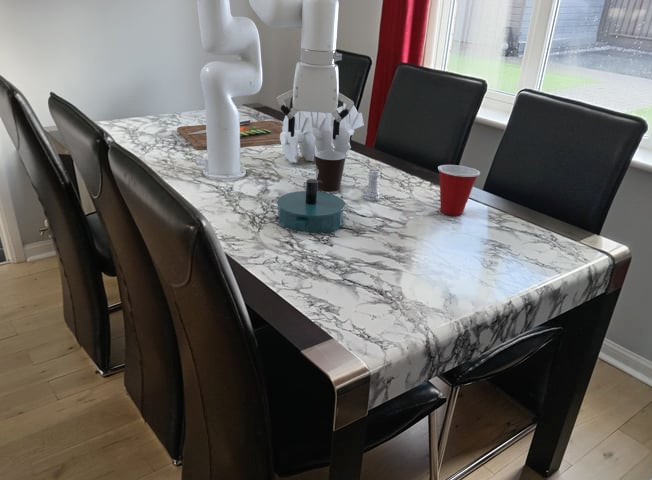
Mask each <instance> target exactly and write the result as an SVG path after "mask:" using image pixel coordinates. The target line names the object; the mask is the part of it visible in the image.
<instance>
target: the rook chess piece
mask: <svg viewBox="0 0 652 480" xmlns="http://www.w3.org/2000/svg"><path fill="white" fill-rule="evenodd" d="M367 175H368V176H369V177H368V184H367V187H366V189H365V191H364V193H363V194H364V195H363V198H364V199H365V200H367V201H368V202H375V201H376V202H377V201H379V200H380V199H381V198H380V195H381V194H380V191H379V188H378V187H379V186H378V182H379V177H380V176H381V174H380V170H379V169H375V168H373V169H372V168H371V169H369V172H368V173H367Z"/></svg>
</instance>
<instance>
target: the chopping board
mask: <svg viewBox="0 0 652 480" xmlns="http://www.w3.org/2000/svg"><path fill="white" fill-rule="evenodd" d="M282 126H283V122H280V121H277V120H259V121H257V120H256V121H251V120H249V119H248V120H243V121H240V148H243V147H254V146H256V147H257V146H269V145H278V144H280V145H281V141H280V134H281V133H282ZM171 134H172V135H173V136H174V137H175V138H176V139H177V140H178V141H179V142H180V143H181V144H182V145H183V146H184V147H185V146H187V145H190V146H191V147H192V148H193V149H194V150H201V151H207V134H206V124H199V125H195V124H194V125H182V126H178V127H177V128H176V132H174V131H172V132H171Z"/></svg>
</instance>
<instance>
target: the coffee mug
mask: <svg viewBox="0 0 652 480" xmlns="http://www.w3.org/2000/svg"><path fill="white" fill-rule="evenodd" d="M316 152H317V153H315V155H314V163H315V165H314V166H315V177H316V179H315V180H317V181H318V190H319V191H320V192H325V193H334V192H338V191H340V189H341V184H342V178H343V174H344V169H345V164H346V159H347V157H346V155H345V154H343V153H341V152H336V151H334V150H333V151H320V152H318V151H316Z"/></svg>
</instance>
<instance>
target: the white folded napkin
mask: <svg viewBox="0 0 652 480" xmlns="http://www.w3.org/2000/svg"><path fill="white" fill-rule="evenodd" d="M345 107H346V104H345V103H343V102H342V105H341V106H338V107H337V110H338V112H339V113H340V112H341V111H342V110H344V109H345ZM294 117H295V132H294V136H293V137H291V132H288V118H287V116H286V115H285V114H284V119H283V121H282V124H283V126H282V133H281V134H280V141H281V143H280V145H281V148H282V151H283V154H284V157H285V159H287V160H288V161H289V163H290V164H292V165H293V163H298V158H297V157H298V156H299V154H300V153H301V155H302V156H303V158H304V159H305V160H306V161H307V162H309V161H311V162H315V153H317V152H320V151H336V152H341V153H343V154H345V155H346V158H348V157H349V154H348V152H349V151H350V149H351V148H352V146H351V143H350V139H351V136H353V135H354V134H355V130H357V129H359V128H362V127H364V126H365V124H364V123H365V122H364V118H363V113H362V112H359V111H358V110H357V108H356V106H355V104H354V105H353V107H352V109H351V110H350V112H349V114H348V115H347V116H346V117H345V118H343V119H342V120H341V122H340V128H339V135H336V140H334V139H333V122H334V120H335V118H334V117H333V115H332V114H331V113H318V112H303V111H298V112H297V113H296V114H295V115H294Z"/></svg>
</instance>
